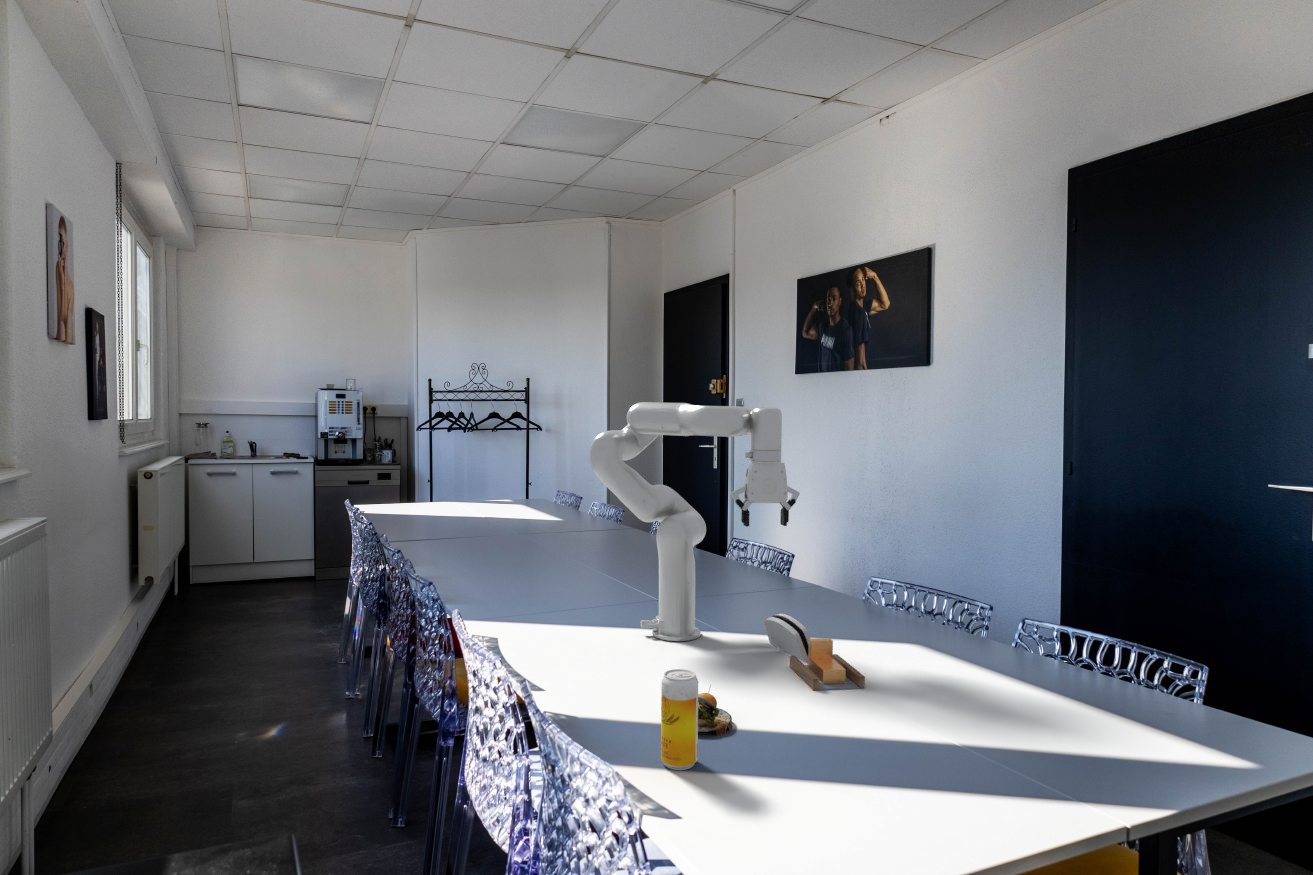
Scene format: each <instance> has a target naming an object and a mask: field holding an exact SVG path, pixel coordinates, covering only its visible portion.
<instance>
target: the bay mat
mask: <svg viewBox="0 0 1313 875" xmlns="http://www.w3.org/2000/svg"><path fill="white" fill-rule="evenodd" d="M804 665H805V666H806V667H807V668H808V664H804ZM855 689H857V690H858V689H859V687H858V686H857V685H856V684H855V683H853V682H852V681H851V680H850V679H849V678H848V677H846V676H845V683H842V684H822V683H821V682H820V681H819V690H818V691H832V690H855ZM859 690H860V689H859Z"/></svg>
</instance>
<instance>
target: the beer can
mask: <svg viewBox="0 0 1313 875" xmlns="http://www.w3.org/2000/svg"><path fill="white" fill-rule="evenodd" d="M698 694H699V680H698V678H697V674H696V672H695V671H692V670H689V669H684V668H683V669H682V668H677V669H676V668H674V669H670V670H667V671H665V672H664V674H663V677H662V678H661V702H660V703H661V704H660V705H661V706H660V707H661V708H660V710H661V711H660V713H661V714H660V715H661V717H660V721H661V722H660V726H661V727H660V733H661V734H660V759H661V761H662V763H663V765H664V766H665V767H666V768H668V769H671V770H675V771H683V770H688V769H689V770H690V769H691V768H693V767H694V766H695V763H697V761H698V759H699V758H698V753H699V752H698V750H699V748H698V746H699V744H698V743H699V739H698V738H699V735H698V734H699V732H698Z"/></svg>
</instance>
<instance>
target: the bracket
mask: <svg viewBox="0 0 1313 875" xmlns="http://www.w3.org/2000/svg"><path fill="white" fill-rule="evenodd" d="M833 648H834V640H833V639H831V637H825V638H824V637H823V638H822V637H821V638H820V637H817V638H816V637H815V638H811V639H808V661H807V665H808V669H809V670H810V671H811V672H812V673H814V674H815V675H816V676H817V677H818V678H819V681H820V682H821V683H822V684H842V683H845V675H846V670H845V669H844V668H843V667H842V666H841V665H840V664H839V663H837V662H836V661H835V660H834V659H833V654H834V653H833V650H834V649H833Z"/></svg>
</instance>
